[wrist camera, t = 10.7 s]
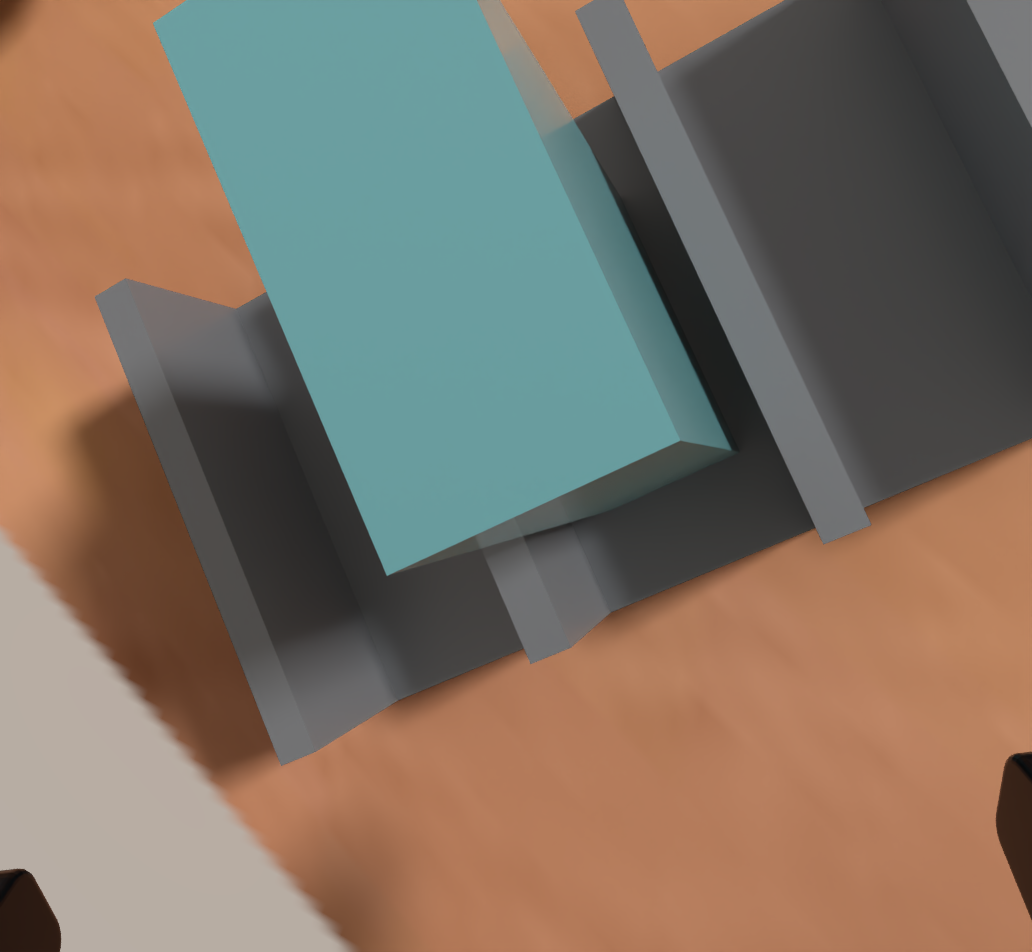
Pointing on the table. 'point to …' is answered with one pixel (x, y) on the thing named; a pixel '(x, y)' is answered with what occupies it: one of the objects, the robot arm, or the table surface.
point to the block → (444, 266)
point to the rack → (708, 328)
